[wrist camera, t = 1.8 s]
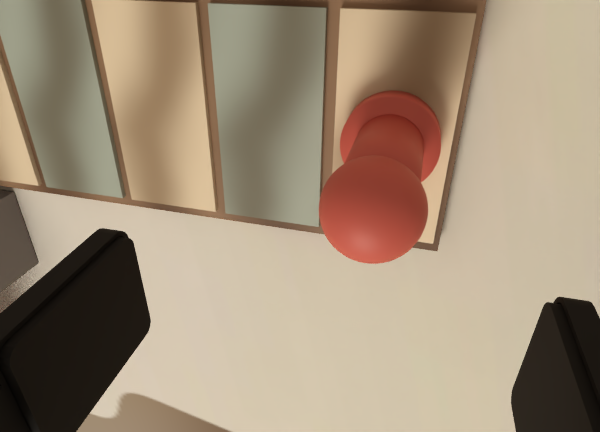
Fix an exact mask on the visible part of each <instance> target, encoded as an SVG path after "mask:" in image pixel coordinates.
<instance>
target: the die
mask: <svg viewBox="0 0 600 432" xmlns="http://www.w3.org/2000/svg"><path fill="white" fill-rule="evenodd" d="M36 264H38V260H37V257H36V254H35V251H34V248H33V246H32V243H31V240H30V237H29V234H28V231H27V228H26V225H25V223H24V220H23V217H22V214H21V211H20V208H19V205H18V202H17V200H16V197H15V194H14V192H11V191H4V190H0V292H1V291H3V290H4V289H5V288H7V287H8V286H9V285H11V284H12V283H13V282H14V281H16V280H17V279H18V278H20V277H21V276H22V275H24V274H25V273H26V272H27V271H29V270H30V269H31V268H33V267H34V266H35V265H36Z"/></svg>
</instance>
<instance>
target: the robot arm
mask: <svg viewBox="0 0 600 432" xmlns="http://www.w3.org/2000/svg"><path fill="white" fill-rule="evenodd" d="M150 322H151V321H150V315H149V310H148V306H147V301H146V297H145V292H144V288H143V283H142V279H141V274H140V270H139V265H138V261H137V256H136V252H135V247H134V243H133V241H132V240H131V239H129V238H128V235H127V234H126V233H125V232H123V231H117V230H110V229H104V228H103V229H99V230H97V231H96V232H94V233H93V234H92V235H91V236H90V237H89V238H87V239H86V240H85V241H84V242H83V243H82V244H81V245H79V246H78V247H77V248H76V249H75V250H74V251H72V252H71V253H70V254H69V255H68V256H67V257H65V258H64V259H63V260H62V261H61V262H60V263H58V264H57V265H56V266H55V267H54V268H53V269H51V270H50V271H49V272H48V273H47V274H46V275H45V276H43V277H42V278H41V279H40V280H39V281H38V282H36V283H35V284H34V285H33V286H32V287H31V288H29V289H28V290H27V291H26V292H25V293H24V294H22V295H21V296H20V297H19V298H18V299H17V300H15V301H14V302H13V303H12V304H11V305H10V306H9V307H7V308H6V309H5V310H4V311H3V312H2V313H0V432H76V431H77V430H78V428H79V427H80V426H81V424H82V423H83V421H84V420H85V419H86V417H87V416H88V415H89V413H90V412H91V410H92V409H93V408H94V406H95V405H96V403H97V402H98V401H99V399H100V398H101V397H102V395H103V394H104V392H105V391H106V390H107V388H108V387H109V386H110V384H111V383H112V381H113V380H114V379H115V377H116V376H117V374H118V373H119V372H120V370H121V369H122V368H123V366H124V365H125V363H126V362H127V361H128V359H129V358H130V357H131V355H132V354H133V352H134V351H135V350H136V348H137V347H138V345H139V344H140V343H141V341H142V340H143V339H144V337H145V336H146V334H147V333H148V331H149V328H150ZM511 404H512V411H513V417H514V422H515V428H516V432H600V318H599V316H598V314H597V312H596V309H595V307H594V306H593V304H592V303H591V302H589V301H584V300H577V299H571V298H564V297H557V299H556V300H555V301H554V303H549V302H547V303H545V305H544V307H543V309H542V312H541V314H540V317H539V320H538V322H537V325H536V328H535V330H534V333H533V336H532V338H531V341H530V344H529V346H528V349H527V352H526V354H525V357H524V360H523V362H522V365H521V368H520V370H519V373H518V376H517V378H516V381H515V384H514V386H513V390H512V396H511Z"/></svg>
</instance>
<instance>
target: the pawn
mask: <svg viewBox="0 0 600 432" xmlns="http://www.w3.org/2000/svg"><path fill="white" fill-rule="evenodd" d="M340 152H341V157H342V160H343V162H344V164H343V165H342V166H340V167H339V168H338V169H337V170H336V171H335V172H334V173H333V174H332V175H331V176H330V177H329V179H328V180H327V182H326V184H325V185H324V188H323V190H322V193H321V196H320V200H319V218H320V223H321V227H322V230H323V232H324V234H325V236H326V237H327V239H328V240H329V242H330V243H331V244H332V246H333V247H334V248H336V249H337V250H338V251H339V252H340V253H342V254H343V255H345V256H346V257H348V258H350V259H352V260H355V261H358V262H363V263H384V262H388V261H391V260H394V259H396V258H398V257H400V256H402V255H404V254H405V253H407V252H408V251H409V250H410V249H411V248H412V247H413V246H414V245H415V244H416V243H417V241H418V240H419V239H420V237H421V235H422V233H423V231H424V229H425V226H426V222H427V218H428V201H427V196H426V193H425V190H424V188H423V185H422V184H421V182H422V181H424V180H425V179H426V178H427V177H428V176H429V175H430V174H431V173H432V171H433V170H434V168H435V166H436V165H437V162H438V160H439V156H440V152H441V129H440V124H439V121H438V118H437V117H436V115H435V113H434V111H433V110H432V109H431V107H430V106H429V105H428V104H427V103H426V102H424V101H423V100H422V99H420V98H419V97H417V96H415V95H413V94H411V93H407V92H404V91H395V90H390V91H383V92H379V93H376V94H373V95H371V96H369V97H367V98H365V99H364V100H363V101H361V102H360V103H359V104H358V105H357V106H356V107H355V108H354V110H353V111H352V113H351V114H350V116H349V118H348V119H347V121H346V123H345V125H344V127H343V130H342V133H341V137H340Z"/></svg>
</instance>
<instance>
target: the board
mask: <svg viewBox="0 0 600 432" xmlns="http://www.w3.org/2000/svg"><path fill="white" fill-rule="evenodd" d="M485 5H486V0H0V186H6V187H13V188H20V189H26V190H33V191H40V192H46V193H53V194H60V195H66V196H73V197H80V198H86V199H93V200H100V201H106V202H113V203H120V204H126V205H133V206H140V207H146V208H153V209H159V210H166V211H173V212H179V213H186V214H193V215H199V216H206V217H213V218H219V219H226V220H233V221H239V222H246V223H253V224H259V225H266V226H273V227H279V228H286V229H293V230H299V231H306V232H313V233H319V234H324V232H323V230H322V227H321V223H320V218H319V200H320V196H321V193H322V190H323V188H324V185H325V184H326V182H327V180H328V179H329V177H330V176H331V175H332V174H333V173H334V172H335V171H336V170H337V169H338V168H339V167H340V166H342V165H343V164H344V162H343V160H342V157H341V152H340V137H341V133H342V130H343V127H344V125H345V123H346V121H347V119H348V118H349V116H350V114H351V113H352V111H353V110H354V108H355V107H356V106H357V105H358V104H359V103H360V102H361V101H363V100H364V99H365V98H367V97H369V96H371V95H373V94H376V93H379V92H383V91H390V90H395V91H404V92H407V93H411V94H413V95H415V96H417V97H419V98H420V99H422V100H423V101H424V102H426V103H427V104H428V105H429V106H430V107H431V109H432V110H433V111H434V113H435V115H436V117H437V118H438V121H439V124H440V129H441V152H440V156H439V160H438V162H437V165H436V166H435V168H434V170H433V171H432V173H431V174H430V175H429V176H428V177H427V178H426V179H425V180H424V181H422V182H421V184H422V185H423V188H424V190H425V193H426V196H427V201H428V218H427V222H426V226H425V229H424V231H423V233H422V235H421V237H420V239H419V240H418V241H417V243H416V244H415V245H414V246H413V248H419V249H426V250H433V251H437V250H438V245H439V240H440V235H441V230H442V225H443V220H444V215H445V209H446V204H447V199H448V194H449V189H450V184H451V179H452V174H453V169H454V164H455V158H456V153H457V148H458V143H459V138H460V133H461V128H462V123H463V118H464V113H465V107H466V102H467V97H468V92H469V87H470V82H471V77H472V72H473V67H474V62H475V56H476V51H477V46H478V41H479V36H480V31H481V26H482V21H483V16H484V11H485Z"/></svg>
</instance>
